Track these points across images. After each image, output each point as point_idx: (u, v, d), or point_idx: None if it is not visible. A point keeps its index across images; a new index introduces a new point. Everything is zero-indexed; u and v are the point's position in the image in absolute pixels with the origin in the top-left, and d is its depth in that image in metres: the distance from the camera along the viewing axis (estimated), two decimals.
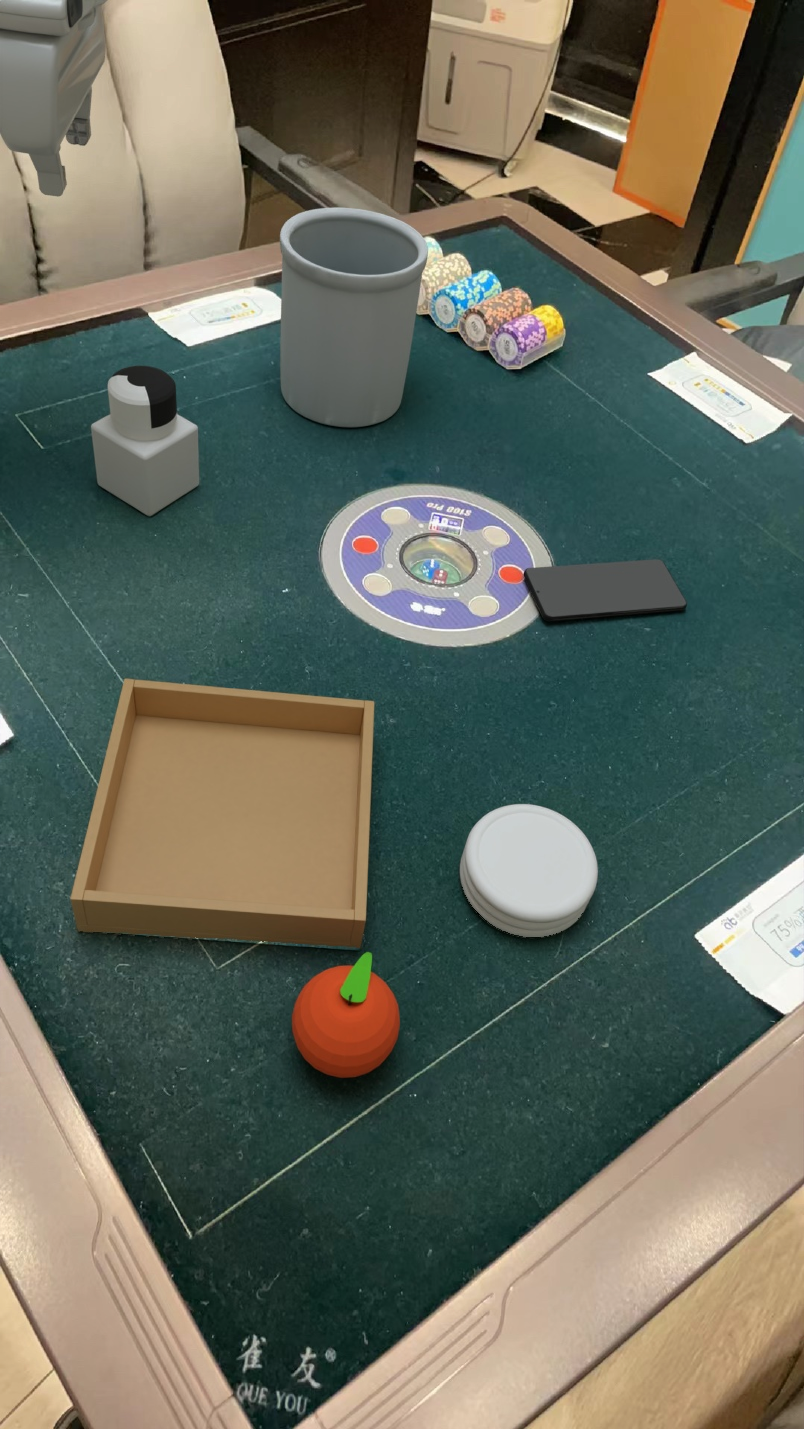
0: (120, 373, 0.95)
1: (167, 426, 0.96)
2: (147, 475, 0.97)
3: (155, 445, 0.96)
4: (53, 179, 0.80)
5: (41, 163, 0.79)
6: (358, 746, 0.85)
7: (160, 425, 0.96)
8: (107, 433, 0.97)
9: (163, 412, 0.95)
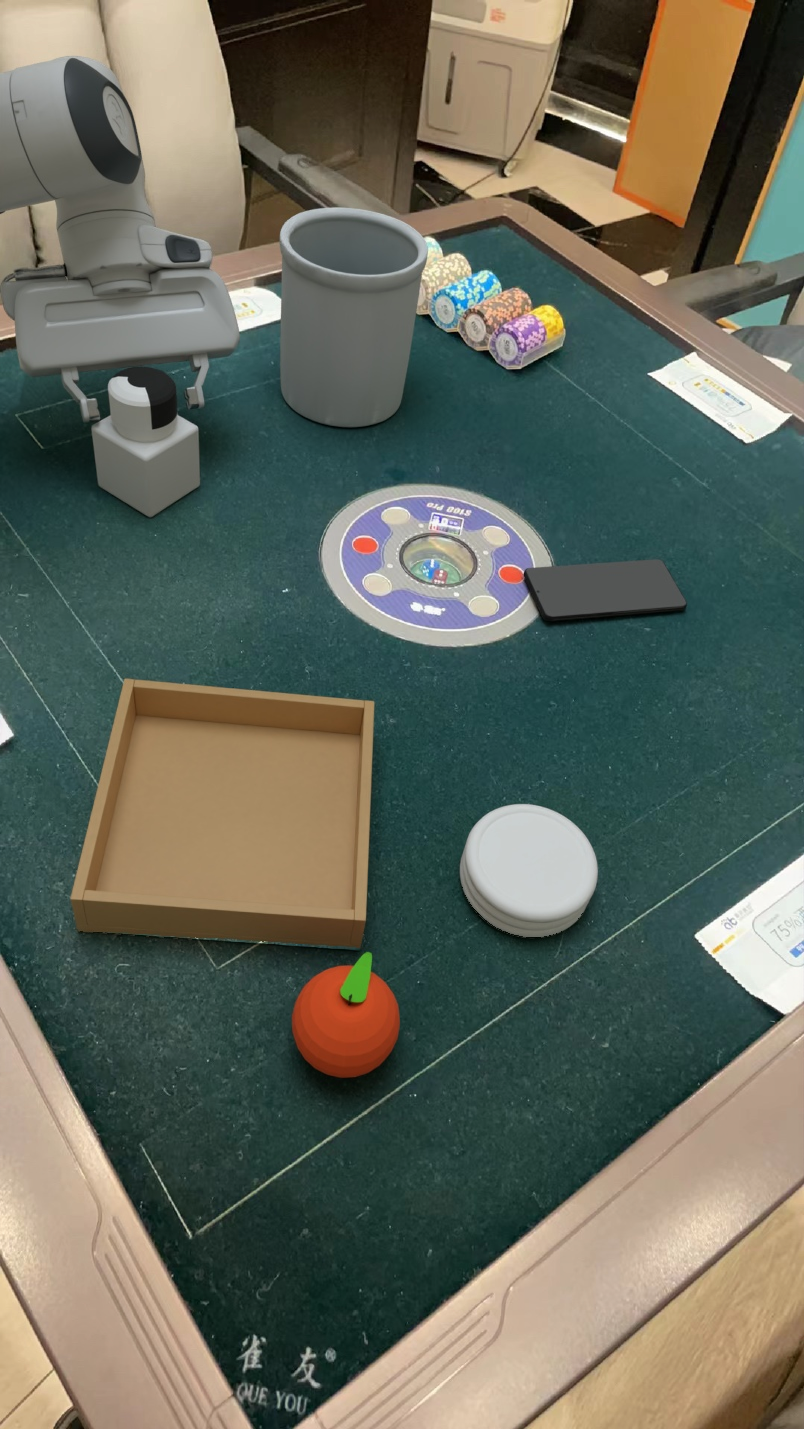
0: (121, 374, 0.95)
1: (168, 426, 0.96)
2: (148, 476, 0.97)
3: (156, 446, 0.96)
4: None
5: None
6: (358, 746, 0.85)
7: (161, 426, 0.96)
8: (107, 435, 0.97)
9: (164, 413, 0.95)
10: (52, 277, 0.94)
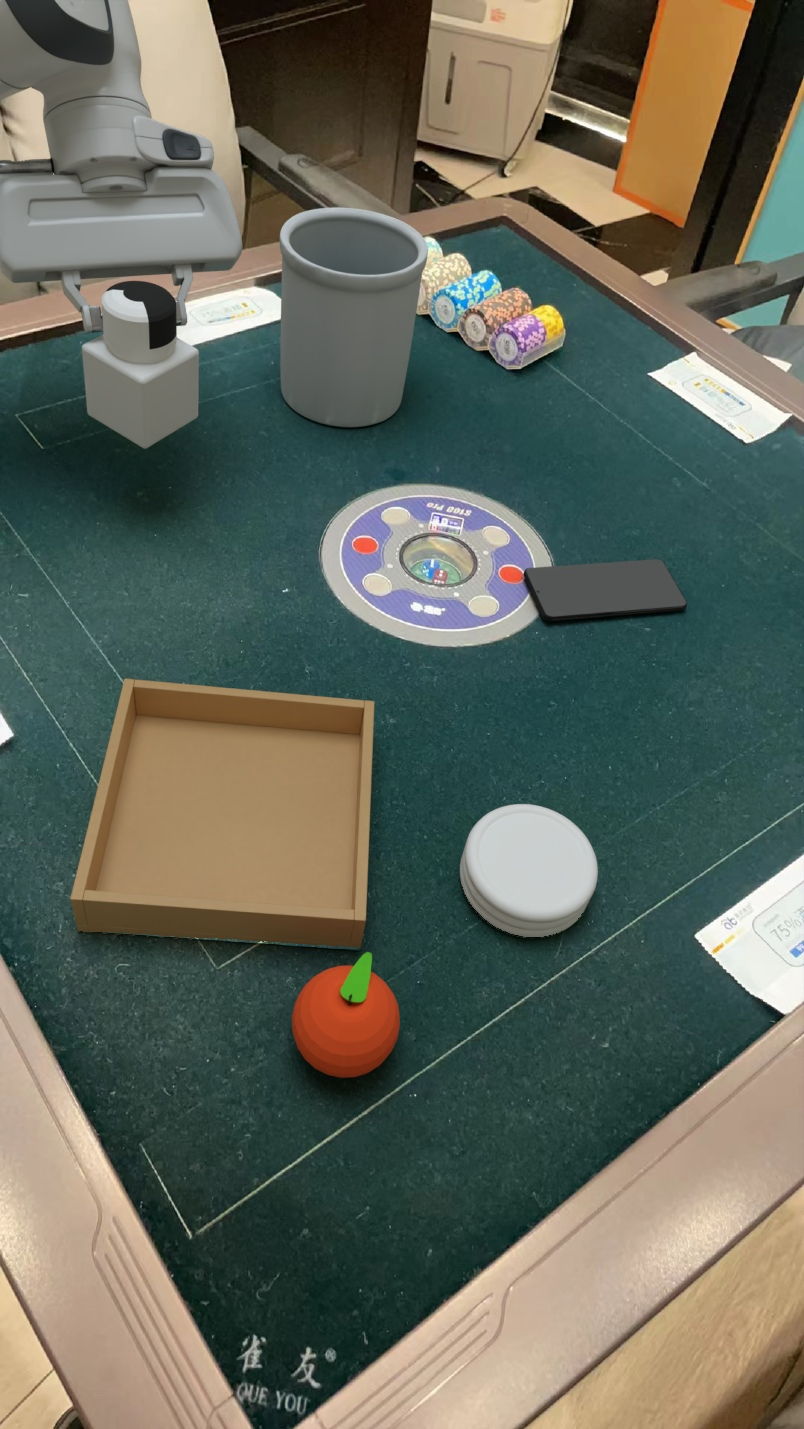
0: (115, 287, 0.86)
1: (166, 347, 0.88)
2: (144, 401, 0.89)
3: (153, 368, 0.88)
4: None
5: None
6: (358, 746, 0.85)
7: (159, 346, 0.87)
8: (99, 355, 0.88)
9: (163, 332, 0.87)
10: (37, 172, 0.86)
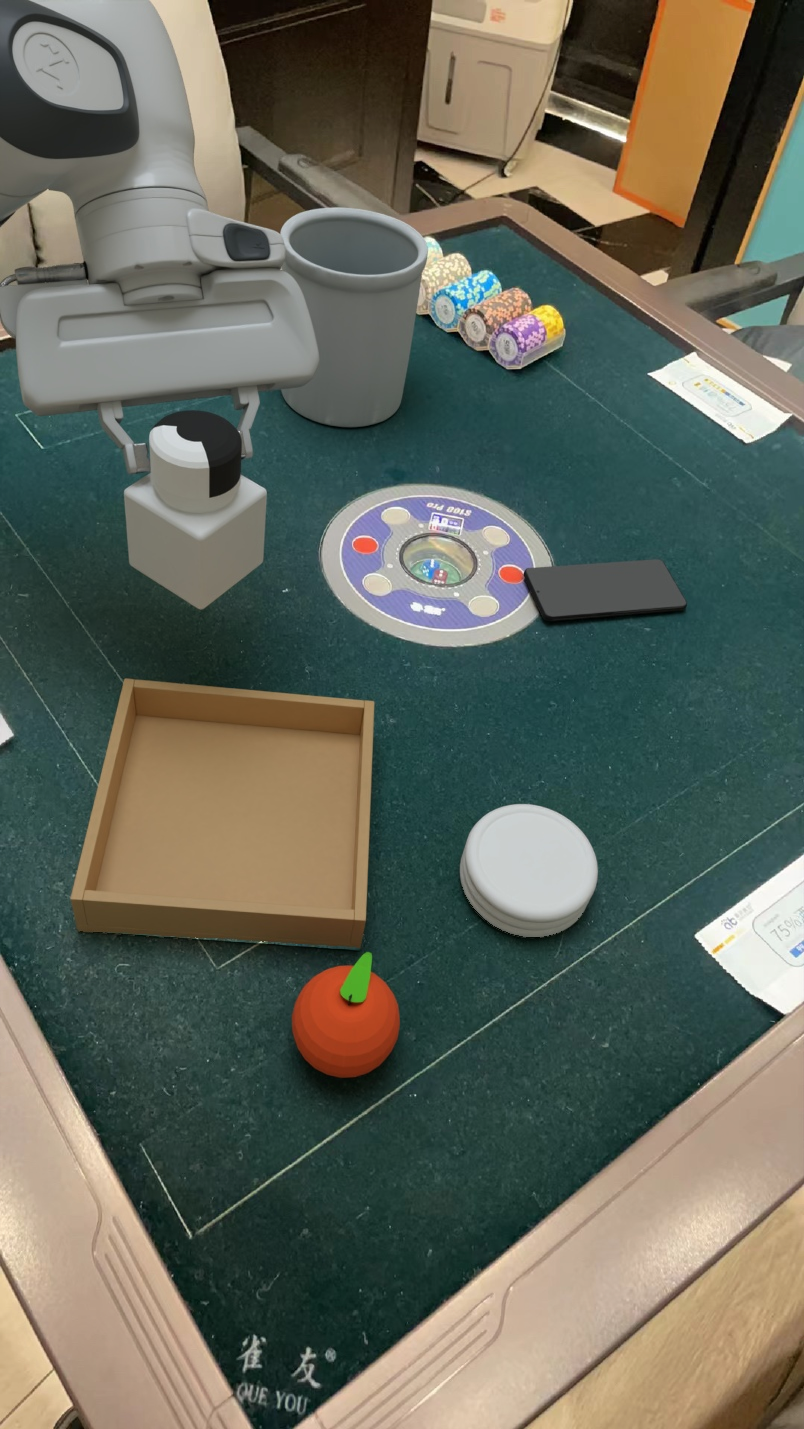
0: (167, 422, 0.69)
1: (230, 493, 0.71)
2: (202, 559, 0.71)
3: (213, 519, 0.71)
4: None
5: None
6: (358, 746, 0.85)
7: (221, 493, 0.70)
8: (146, 503, 0.71)
9: (226, 476, 0.69)
10: (68, 280, 0.69)
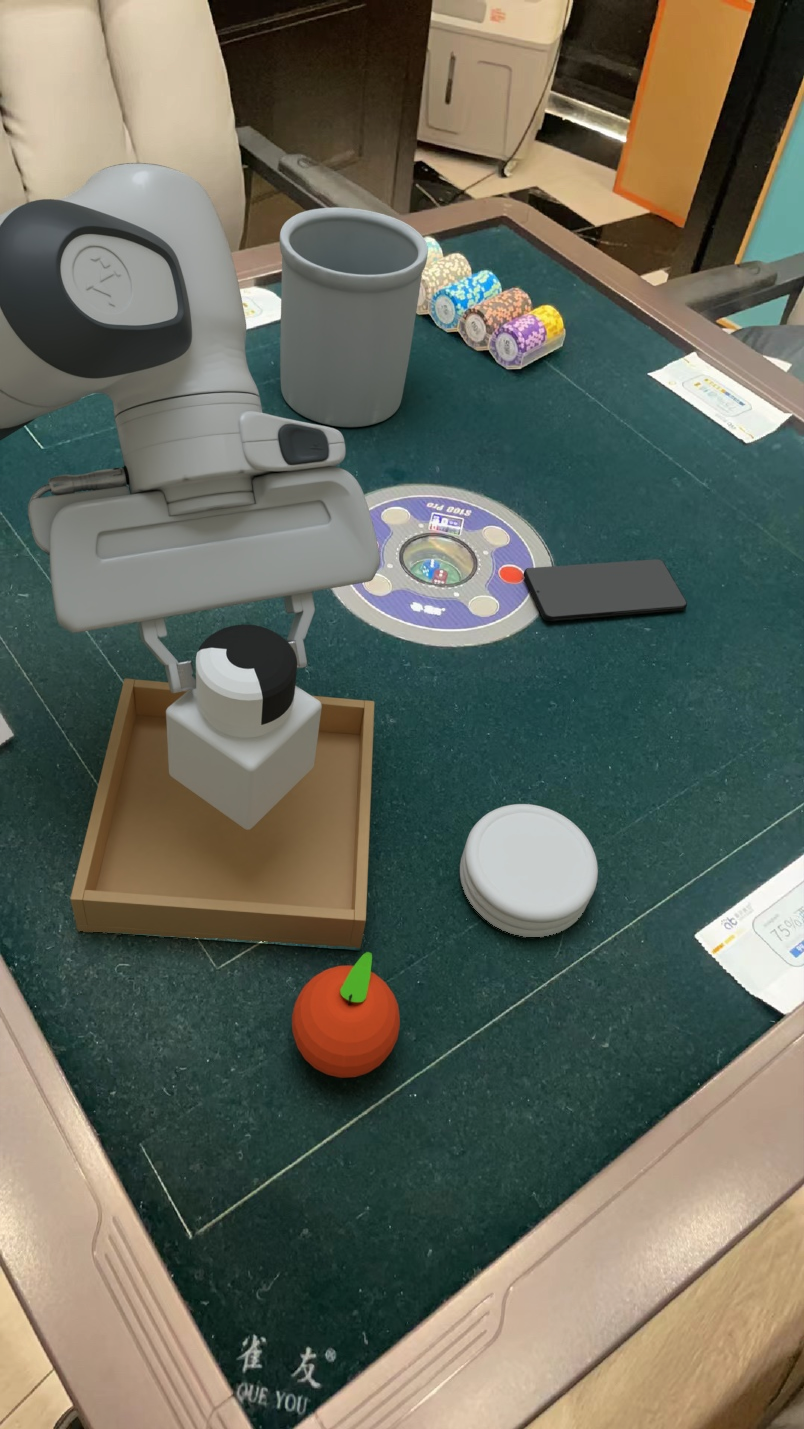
0: (215, 643, 0.63)
1: (283, 716, 0.64)
2: (252, 787, 0.65)
3: (265, 745, 0.64)
4: None
5: None
6: (358, 746, 0.85)
7: (274, 718, 0.63)
8: (191, 726, 0.65)
9: (280, 703, 0.63)
10: (107, 488, 0.62)
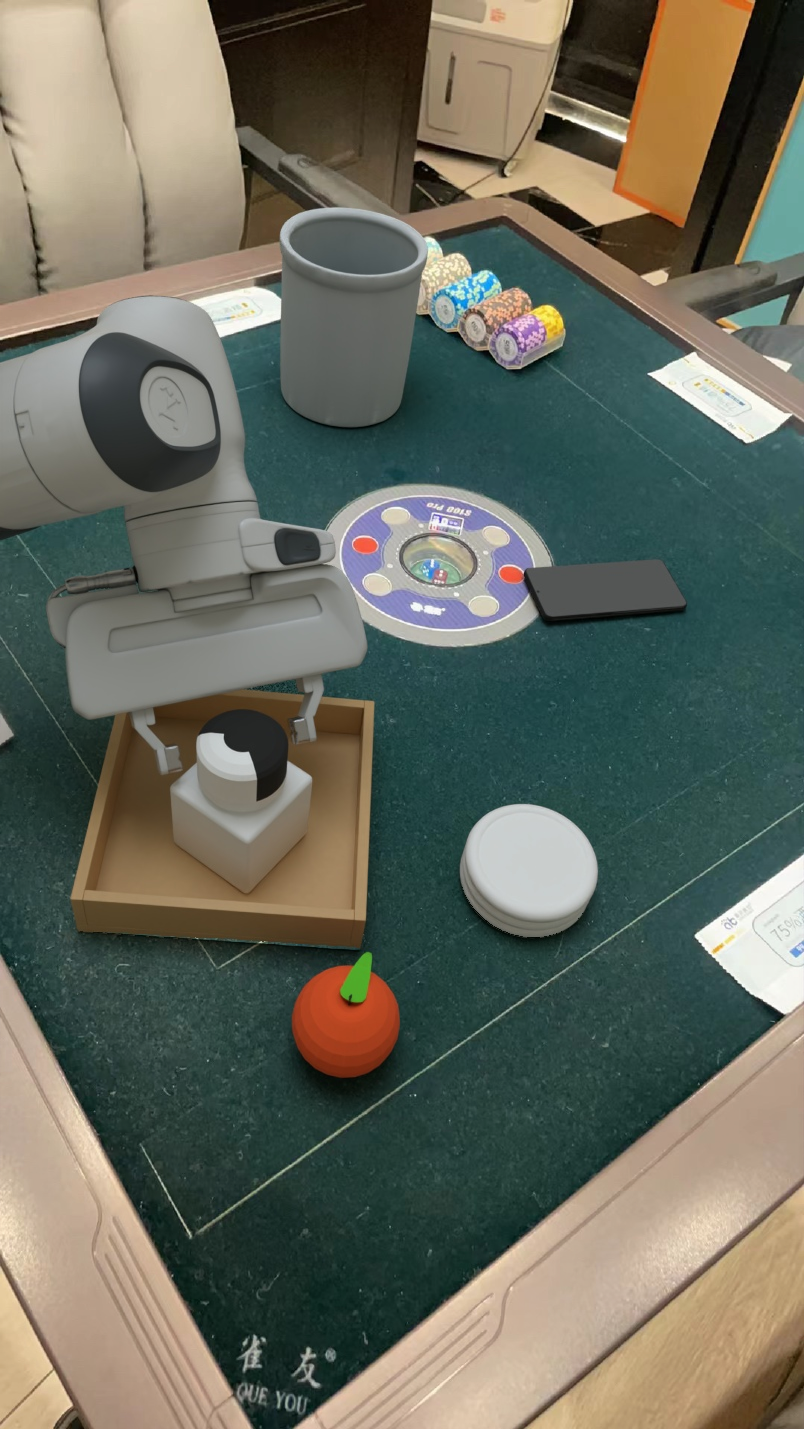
0: (214, 728, 0.69)
1: (276, 792, 0.70)
2: (249, 857, 0.71)
3: (260, 819, 0.71)
4: None
5: None
6: (358, 746, 0.85)
7: (268, 795, 0.70)
8: (193, 802, 0.71)
9: (273, 782, 0.69)
10: (118, 586, 0.68)
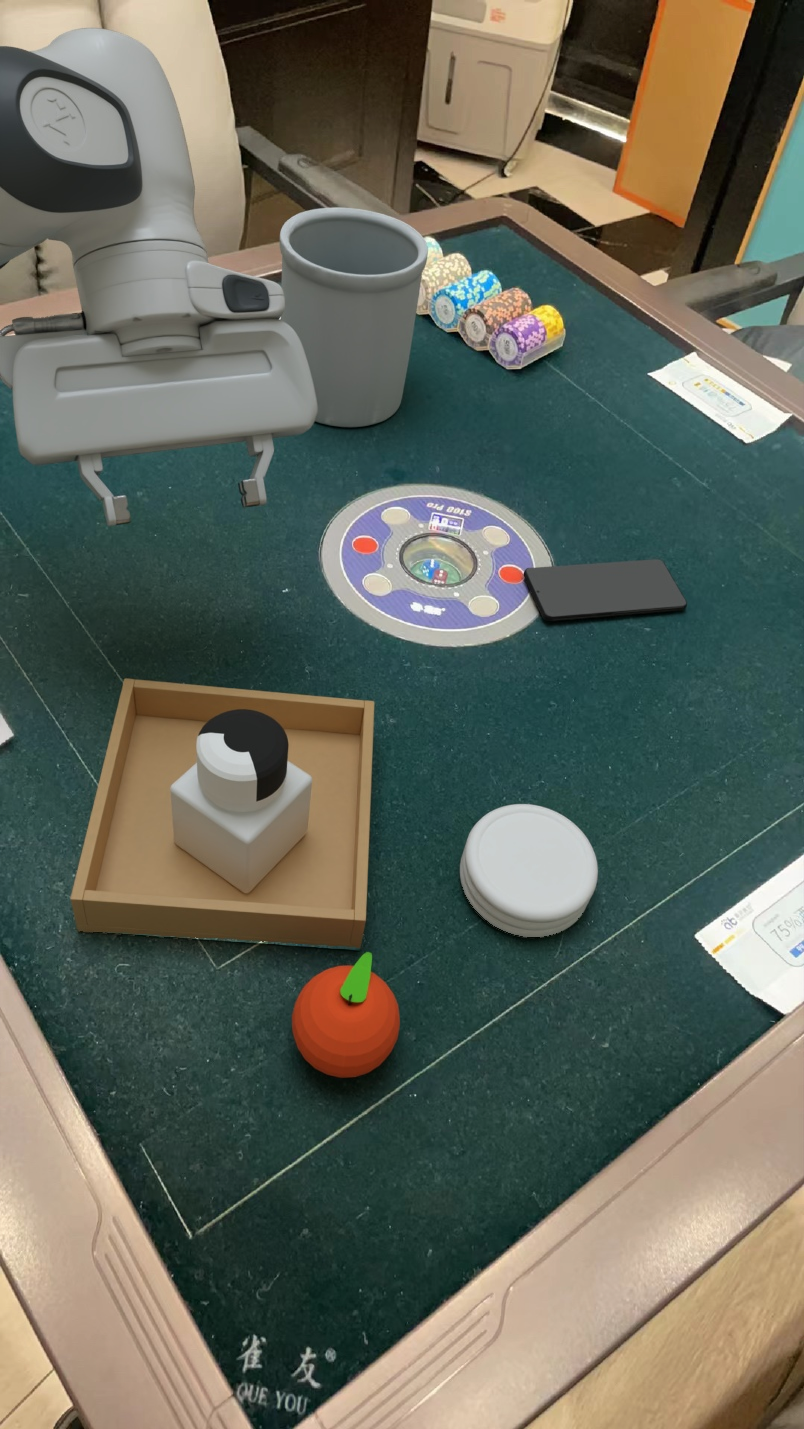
0: (214, 728, 0.69)
1: (276, 792, 0.70)
2: (249, 857, 0.71)
3: (260, 819, 0.71)
4: None
5: None
6: (358, 746, 0.85)
7: (268, 795, 0.70)
8: (193, 802, 0.71)
9: (273, 782, 0.69)
10: (66, 330, 0.68)
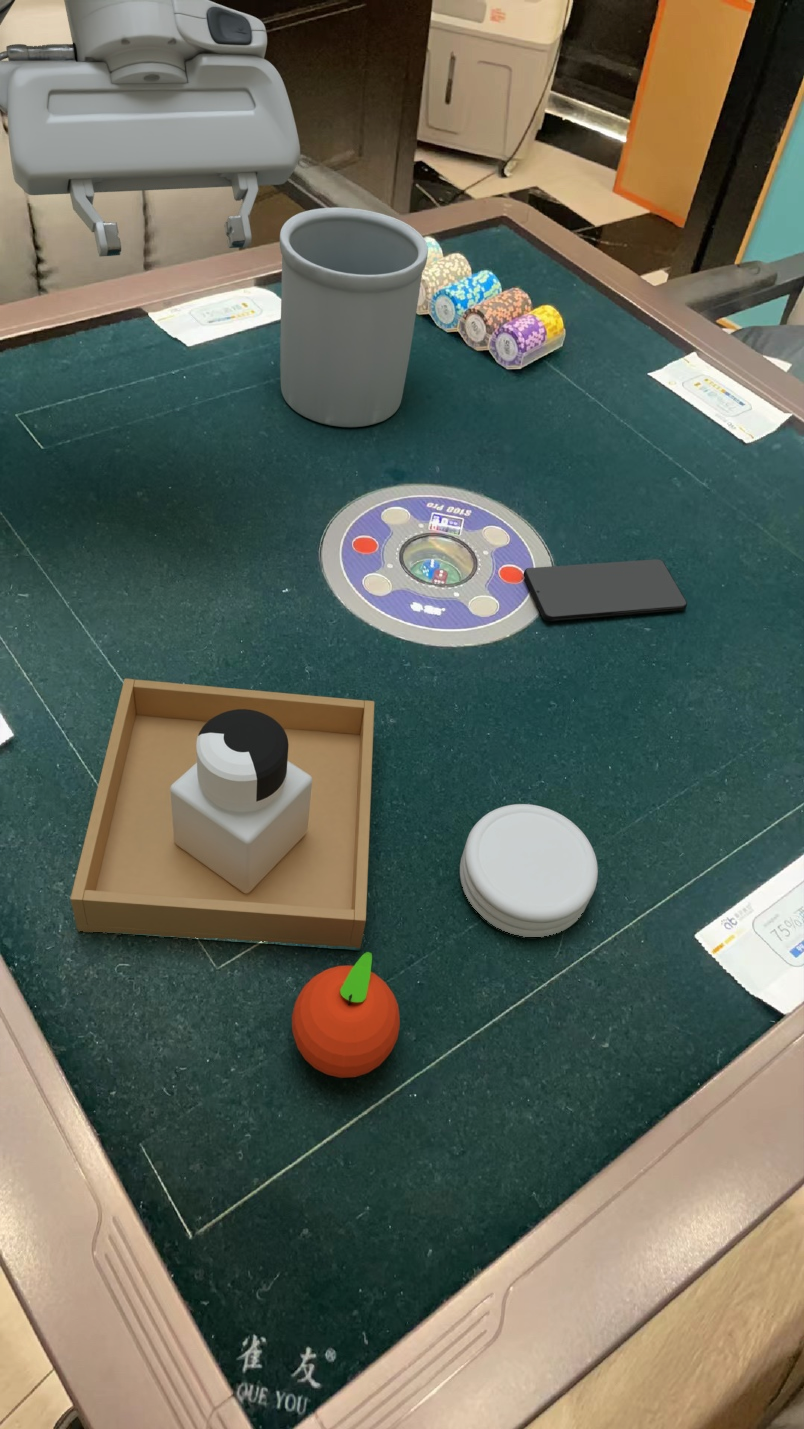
0: (214, 728, 0.69)
1: (276, 792, 0.70)
2: (249, 857, 0.71)
3: (260, 819, 0.71)
4: None
5: None
6: (358, 746, 0.85)
7: (268, 795, 0.70)
8: (193, 802, 0.71)
9: (273, 782, 0.69)
10: (57, 59, 0.72)
